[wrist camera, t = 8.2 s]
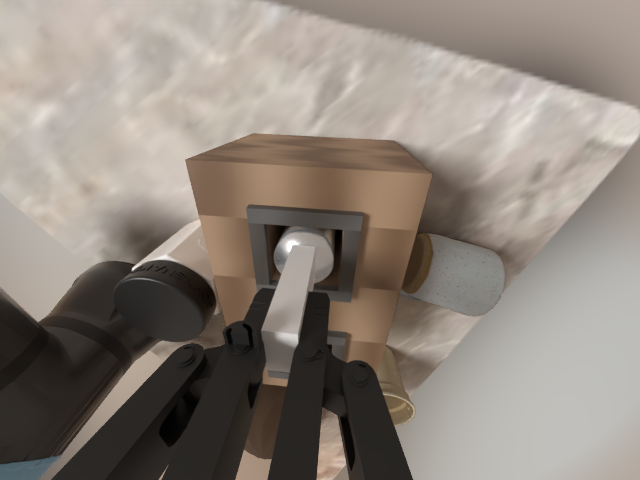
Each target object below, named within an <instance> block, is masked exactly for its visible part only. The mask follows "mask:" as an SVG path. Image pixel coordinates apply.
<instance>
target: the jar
mask: <svg viewBox="0 0 640 480" xmlns="http://www.w3.org/2000/svg"><path fill="white" fill-rule="evenodd" d="M113 301H114V304H115V306H116V309H117V310H118V312H119V313H120V314H121V316H122V317H123V318H124V319H125V320H126V321H127V322H128V323H129V324H130V325H132V326H133V327H135V328H136V329H138V330H139V331H141V332H143V333H145V334H147V335H149V336H151V337H154V338H157V339H160V340H164V341H170V342H184V341H189V340H192V339H194V338H196V337H198V336H199V335H200V334H201V333H202V331H203V330H204V328H205V327H206V325H207V323H208V322H209V320H210V318H211V317H212V315H216V314H218V313H219V312H220V310H221V304H220V300H219V295H218V291H217V287H216V283H215V279H214V275H213V271H212V267H211V263H210V259H209V255H208V251H207V247H206V243H205V238H204V234H203V230H202V226H201V222H200V219H198V220H196V221H194V222H191V223H189V224H187V225H185V226H184V227H183V228H182V229H180V230H179V231H178V232H177V233H175V234H174V235H173V236H172V237H170V238H169V239H168V240H167V241H165V242H164V243H163V244H162V245H160V246H159V247H158V248H157V249H155V250H154V251H153V252H152V253H150V254H149V255H148V256H147V257H145V258H144V259H143V260H142V261H140V262H139V263H138V264H137V265H135V266H134V267H133V268H132V272H130V274H129V275H127V276H126V277H125V278H124V279H123V280H121V281H120V282H119V283H118V284H117V285H116V287H115V289H114V292H113Z"/></svg>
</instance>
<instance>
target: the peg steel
mask: <svg viewBox="0 0 640 480" xmlns="http://www.w3.org/2000/svg"><path fill="white" fill-rule="evenodd" d="M335 234H336V229H325V228H311V227H298V226H286V227H285V229H284V231H283V234H282V236H281V238H280V240H279V242H278V244H277V247H276V249H275V252H274V263H275V266H276V268H277V269H278V271H279V272H280V273H281V274H282V271H283V269H284V266H285V263H286V260H287V258H288V255H289V252H290V249H291V247H292V245H303V246H316V251H315V281H314V283H317V282H320V281H322V280H324V279H325V278H326V277H327V276H328V275H329V274H330V273H331V271H332V268H333V263H334V249H335Z"/></svg>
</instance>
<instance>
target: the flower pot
mask: <svg viewBox="0 0 640 480" xmlns="http://www.w3.org/2000/svg"><path fill="white" fill-rule="evenodd" d="M377 378H378V381H379V384H380V387H381V389H382V392H383V395H384V398H385V401H386V404H387V407H388V409H389V412H390V415H391V418H392V421H393V424H394V427H395V426H399V425H402V424H405V423H407V422H409V421H410V420H412V419H413V418H414V416H415V414H416V410H415V407H414V405H413V403H412V402H411V401H410V399H409V396H408V394H407V393H406V392H405V389H404V386H403V383H402V380H401V377H400V374H399V371H398V368H397V365H396V362H395V359H394V356H393V353H392V351H391V350H390V349H389V348H388V347H386V346H385V349H384V353H383V356H382V360H381V363H380V367H379V371H378V374H377Z"/></svg>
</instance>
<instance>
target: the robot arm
mask: <svg viewBox="0 0 640 480" xmlns="http://www.w3.org/2000/svg"><path fill="white" fill-rule="evenodd" d="M315 251H316V246H303V245H292V247H291V249H290V252H289V255H288V258H287V260H286V263H285V266H284V269H283V271H282V274H281V277H280V280H279V283H278V285H277V288H276V289H271V288H261V289H260V290H259V291H258V292H257V293H256V294H255V296H254V298H253V301H252V303H251V305H250V307H249V310H248V312H247V314H246V316H245V318H244V320H243V321H236V322H234V323H231V324H230V325H229V326H227V327H226V328H225V330H224V331H223V335H224V339H225V343H226V344H225V345H222V346H219V347H215V348H209V349H203V347H202V346H200V345H199V344H194V343H191V344H186V345H184V346H182V347H180V348H178V349H177V350H176V351H174V352H173V353H172V354H171V355H170V356H169V357H168V358H167V359H166V360H165V362H164V363H163V364H162V365H161V366H160V367H159V368H158V369H157V370H156V371H155V372H154V373H153V374H152V375H151V376H150V377H149V378H148V379H147V380H146V381H145V382H144V383H143V385H142V386H141V387H140V388H139V389H138V390H137V391H136V392H135V393H134V394H133V395H132V396H131V397H130V398H129V399H128V400H127V401H126V402H125V403H124V404H123V405H122V406H121V408H119V409H118V411H117V412H116V413H115V414H114V415H113V416H112V417H111V418H110V419H109V420H108V421H107V422H106V423H105V424H104V425H103V426H102V427H101V428H100V429H99V430H98V432H97V433H95V435H94V436H93V437H92V438H91V439H90V440H89V441H88V442H87V443H86V444H85V445H84V446H83V447H82V448H81V449H80V450H79V451H78V452H77V453H76V454H75V455H74V457H72V459H71V460H70V461H69V462H68V463H67V464H66V465H65V466H64V467H63V468H62V469H61V470H60V471H59V472H58V473H57V474H56V475H55V476H54V477H53V478H52V480H158V479H159V478H160V477H161V475H162V474H163V472H164V471H165V469H166V467H167V466H168V467H167V469H166V471H165V473H164V475H163V478H162V480H235V479H236V475H237V472H238V468H239V465H240V461H241V458H242V454H243V451H244V447H245V444H246V440H247V437H248V433H249V430H250V426H251V423H252V419H253V416H254V412H255V409H256V405H257V402H258V398H259V395H260V391H261V388H262V384H263V371H264V368H265V365H266V370H270V371H279V372H288V373H289V378H288V383H287V388H286V393H285V397H284V402H283V407H282V412H281V417H280V422H279V427H278V431H277V436H276V441H275V446H274V451H273V456H272V461H271V465H270V470H269V475H268V480H316V478H317V465H318V452H319V439H320V426H321V414H322V407H323V408H325V409H327V410H329V411H331V412H333V413H334V414H336V415H338V420H339V426H340V431H341V437H342V442H343V447H344V453H345V458H346V464H347V468H348V475H349V480H413V478H412V475H411V472H410V470H409V467H408V464H407V461H406V458H405V455H404V452H403V450H402V447H401V444H400V441H399V438H398V436H397V432H396V430H395V427H394V424H393V421H392V418H391V415H390V412H389V409H388V407H387V404H386V401H385V398H384V395H383V392H382V389H381V387H380V384H379V381H378V378H377V375H376V373H375V371H374V369H373V368H372V367H371V366H370V365H369V364H368V363H366V362H363V361H361V360H353V361H350V362H348V363H347V362H345V361H342V360H340V359H338V358H337V357H335V356H334V355H333V354H332V353H331V352H330V350H329V348H328V345H327V336H328V323H329V309H330V299H329V297H328V294H327V293H322V292H313V287H314V281H315ZM133 267H134V265H131V264H127V263H122V262H102V263H99V264H96V265H94V266H93V267H91V268H90V269H88V270H87V271H85V272H84V273H83V274H81V275H80V276H79V277H78V278H77V279H76V280H75V282H74V283H73V285H72V287H71V288H70V289H69V290H68V291H67V293H66V294H65V295H64V296H63V297H62V299H61V300H60V301H59V302H58V304H57V305H56V306H55V307H54V309H53V310H52V311H51V313H50V314H49V315H47V316H46V317H45V318H44V319H42V320H41V321H39V322H37V321H36V320H35V319H34V318H33V317H31V315H29V314H28V313H27V312H26V311H25V310H24V309H23V308H22V307H21V306H20V305H19V304H17V302H16V301H15V300H13V299H12V298H11V297H10V296H9V295H8V294H7V293H6V292H5V291H4V290H3V289H2V288H1V287H0V480H39V479H40V478H41V477H42V476H43V475H44V474H45V472H46V471H47V470H48V469H49V467H51V465H52V464H53V463H54V462H56V461H57V460H58V459H59V458H60V457H61V456H62V454H63V452H64V451H65V449H66V448H67V447H68V445H69V444H70V443H71V442H72V440H73V439H74V438H75V437H76V435H77V434H78V433H79V431H80V430H81V429H82V428H83V426H84V425H85V424H86V422H87V421H88V420H89V419H90V417H91V416H92V415H93V413H94V412H95V411H96V410H97V408H98V407H99V406H100V404H101V403H102V402H103V401H104V399H105V398H106V397H107V395H108V394H109V393H110V392H111V390H112V389H113V388H114V387H115V385H116V384H117V383H118V382H119V380H120V379H121V377H122V376H123V375H124V374H125V373H126V371H127V370H128V369H129V368H130V366H131V365H132V364H133V363H134V361H136V360H137V359H138V358H140V357H141V356H142V355H144V354H145V353H146V352H147V351H149V350H150V349H151V348H152V347H153V346H155V345H156V344H157V343H158V342H160V341H162V340H160V339H157V338H154V337H151V336H149V335H147V334H145V333H143V332H141V331H139V330H138V329H136V328H135V327H133V326H132V325H130V324H129V323H128V322H127V321H126V320H125V319H124V318H123V317H122V316H121V314H120V313H119V312H118V310H117V309H116V306H115V304H114V301H113V292H114V289H115V287H116V285H117V284H118V283H119V282H120V281H121V280H123V279H124V278H125V277H126V276H127V275H129V274H130V272H132V268H133Z"/></svg>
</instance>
